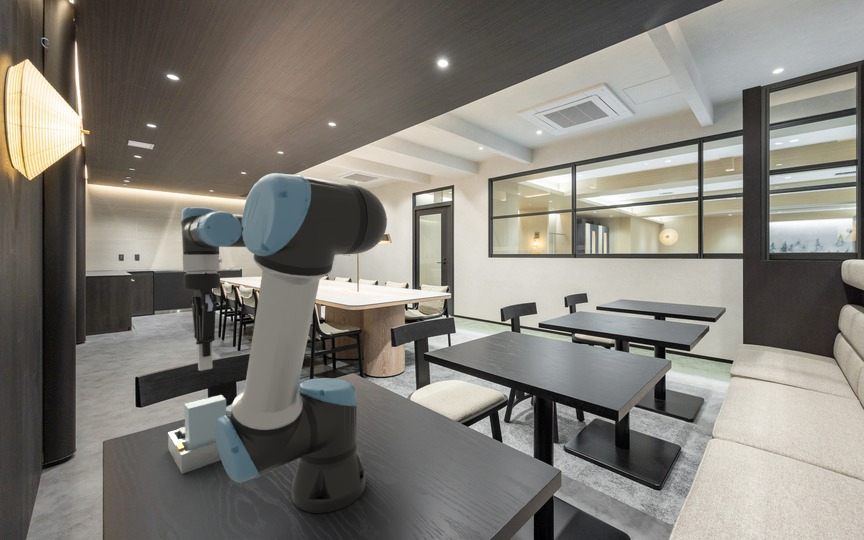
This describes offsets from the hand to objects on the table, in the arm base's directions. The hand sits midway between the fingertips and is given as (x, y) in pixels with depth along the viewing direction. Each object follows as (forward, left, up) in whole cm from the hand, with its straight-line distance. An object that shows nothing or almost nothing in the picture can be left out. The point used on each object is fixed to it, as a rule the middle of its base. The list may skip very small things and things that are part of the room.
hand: (205, 368), depth 89 cm
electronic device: (+22, -21, -23) cm, 38 cm away
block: (+1, 0, -20) cm, 20 cm away
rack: (+4, 0, -22) cm, 23 cm away
